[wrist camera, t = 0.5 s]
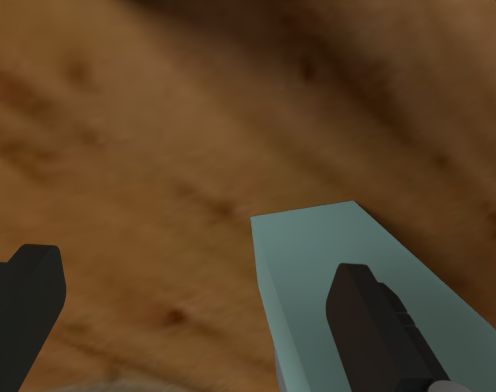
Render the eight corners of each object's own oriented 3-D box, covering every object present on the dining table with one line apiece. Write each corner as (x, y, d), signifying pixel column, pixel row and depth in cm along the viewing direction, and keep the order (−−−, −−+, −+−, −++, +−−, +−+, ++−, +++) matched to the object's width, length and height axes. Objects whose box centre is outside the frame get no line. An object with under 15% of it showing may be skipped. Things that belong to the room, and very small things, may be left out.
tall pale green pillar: (248, 215, 30) (351, 523, 10) (355, 198, 31) (640, 449, 11) (256, 287, 34) (346, 626, 14) (353, 270, 35) (569, 562, 15)
